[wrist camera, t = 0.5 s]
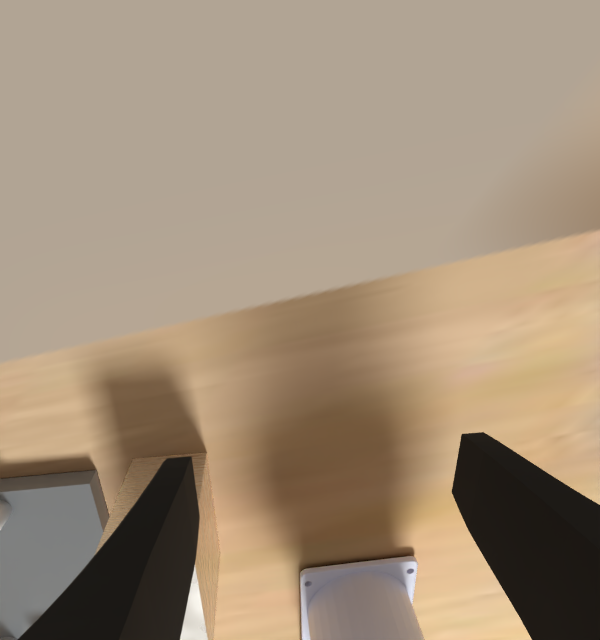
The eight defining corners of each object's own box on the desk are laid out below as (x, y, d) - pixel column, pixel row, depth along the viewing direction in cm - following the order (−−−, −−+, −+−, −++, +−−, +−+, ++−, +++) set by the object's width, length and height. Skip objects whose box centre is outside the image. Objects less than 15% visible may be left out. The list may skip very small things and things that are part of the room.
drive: (220, 551, 25) (211, 661, 20) (155, 558, 25) (128, 673, 19) (207, 451, 22) (192, 547, 17) (133, 457, 22) (92, 558, 16)
